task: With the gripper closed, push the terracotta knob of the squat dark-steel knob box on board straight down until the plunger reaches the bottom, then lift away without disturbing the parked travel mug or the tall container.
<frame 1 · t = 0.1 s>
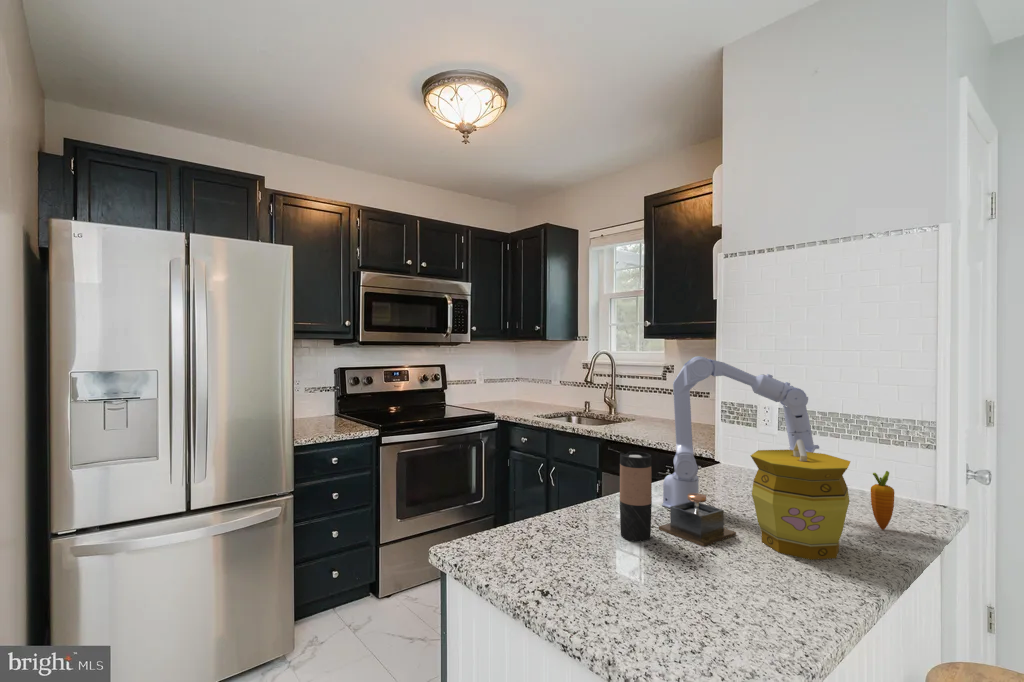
hand: (808, 480, 135), 11 cm above the counter, tool pointing down, fingers open, 7 cm apart
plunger: (696, 505, 125), point 7 cm above the counter, slide at 0.0 cm
knob box on board: (696, 532, 125), on the counter
carrot: (882, 530, 128), on the counter
travel mug: (635, 537, 123), on the counter
container: (799, 547, 117), on the counter
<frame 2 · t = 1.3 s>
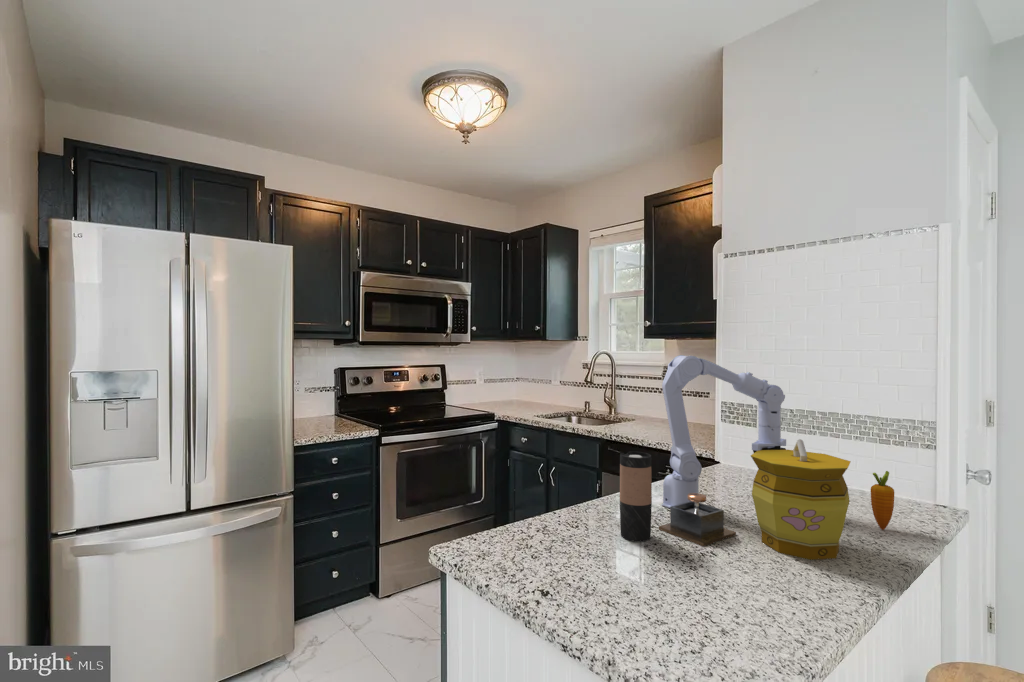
hand: (769, 473, 144), 10 cm above the counter, tool pointing down, fingers open, 3 cm apart
nothing on the counter moved.
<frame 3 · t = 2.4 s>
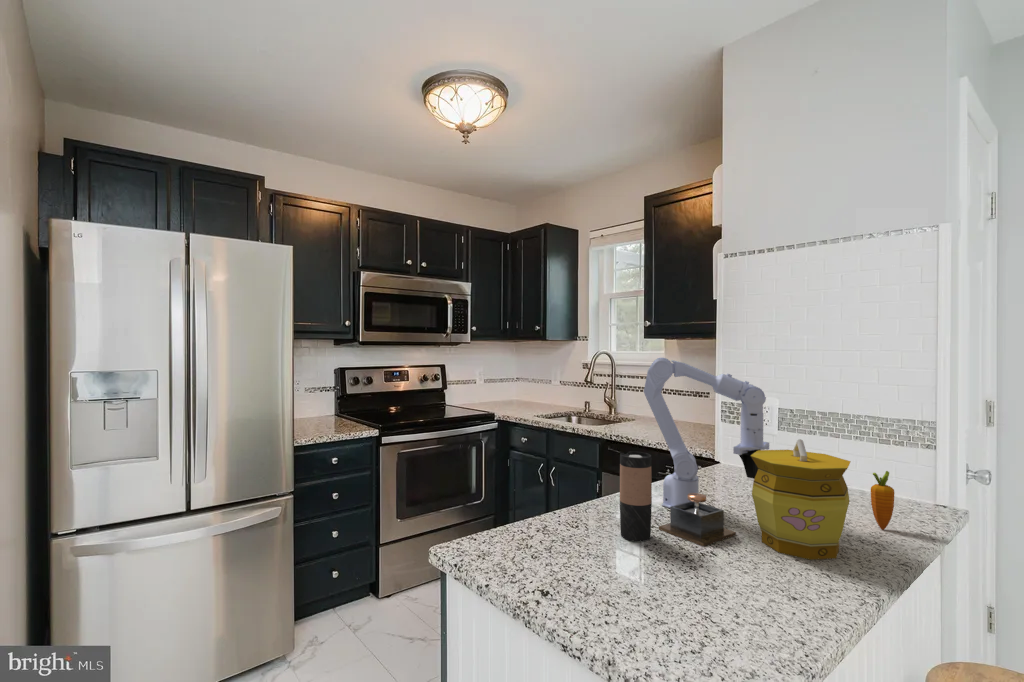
hand: (751, 477, 139), 10 cm above the counter, tool pointing down, fingers closed
nothing on the counter moved.
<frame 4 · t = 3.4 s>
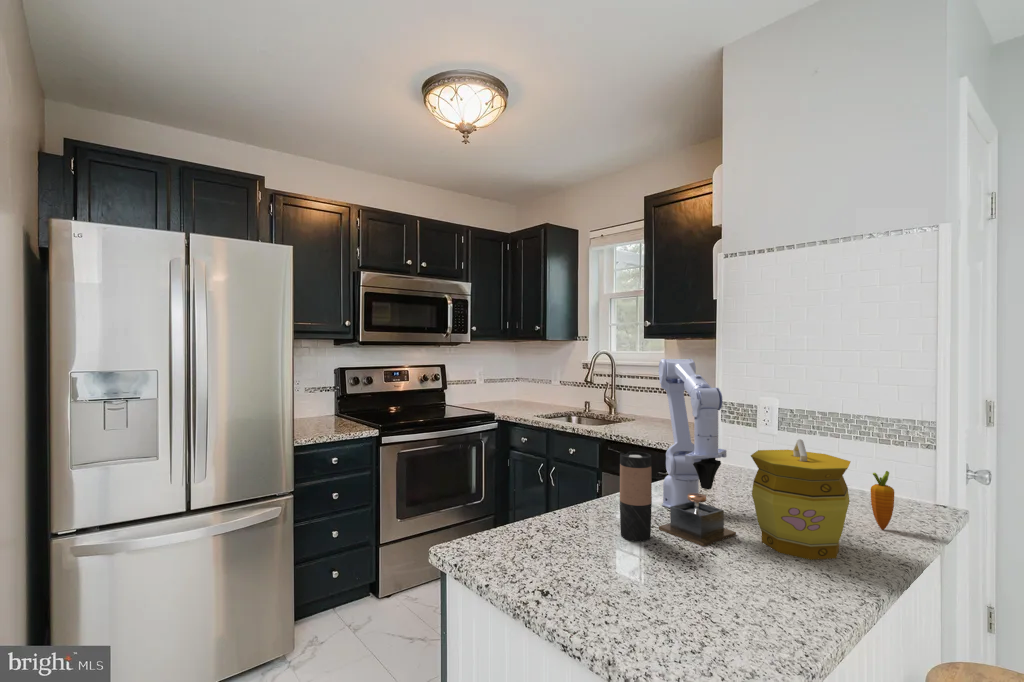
hand: (706, 488, 127), 10 cm above the counter, tool pointing down, fingers closed
nothing on the counter moved.
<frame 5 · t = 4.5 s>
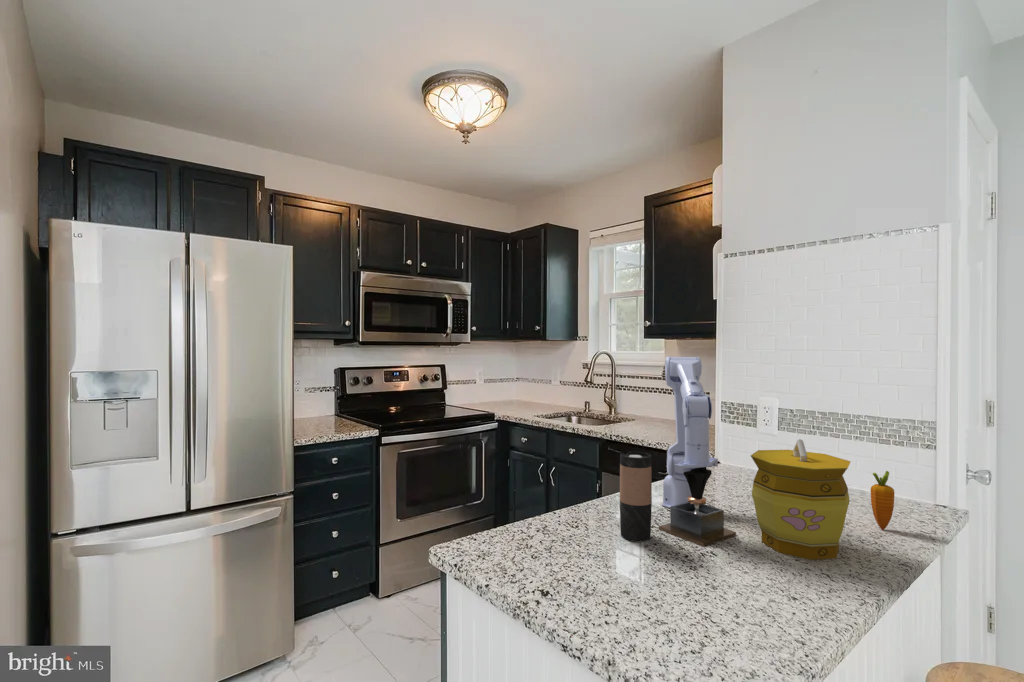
hand: (696, 498, 125), 9 cm above the counter, tool pointing down, fingers closed, pressing on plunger
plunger: (696, 508, 125), point 6 cm above the counter, slide at 0.6 cm, touching gripper
everything else where it was.
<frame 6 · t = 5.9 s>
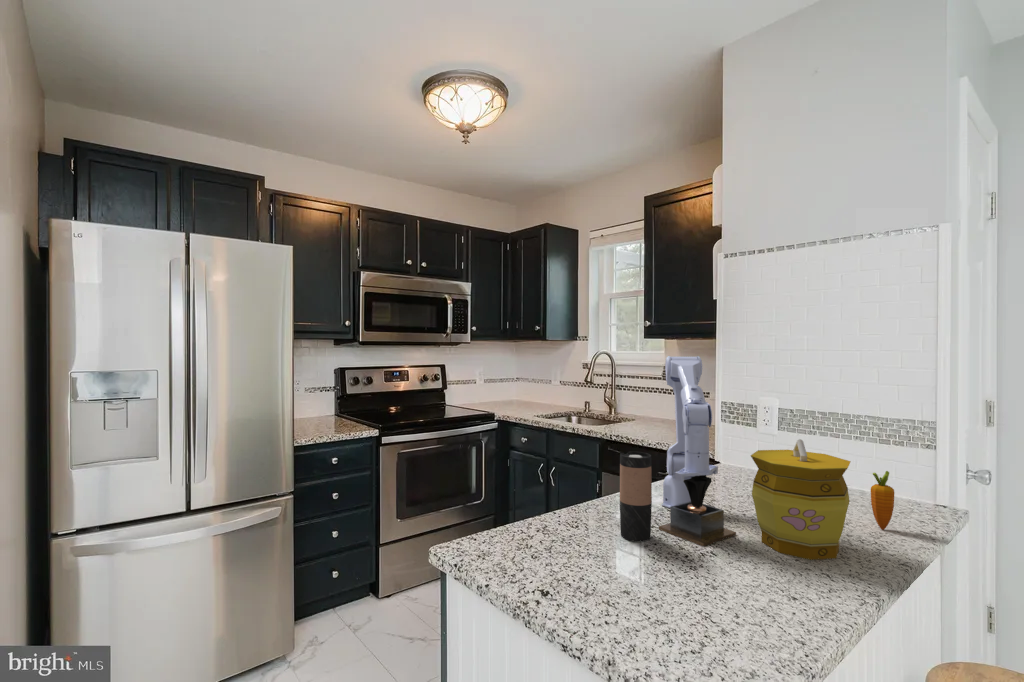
hand: (696, 505, 125), 7 cm above the counter, tool pointing down, fingers closed
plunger: (696, 516, 125), point 4 cm above the counter, slide at 2.8 cm
everything else where it was.
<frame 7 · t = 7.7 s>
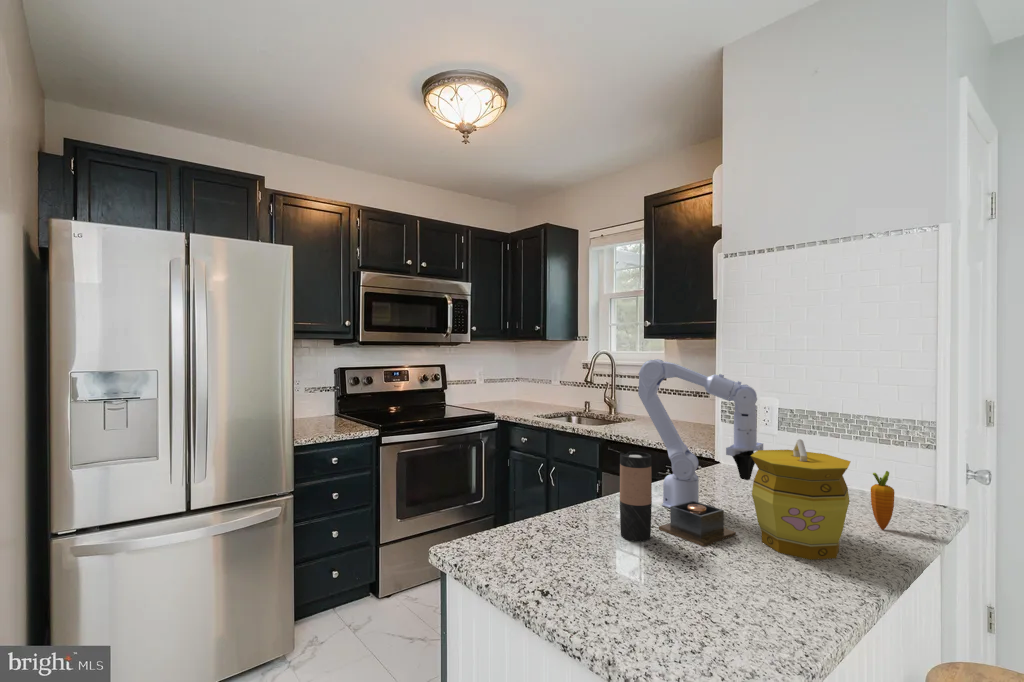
hand: (745, 479, 137), 10 cm above the counter, tool pointing down, fingers closed
nothing on the counter moved.
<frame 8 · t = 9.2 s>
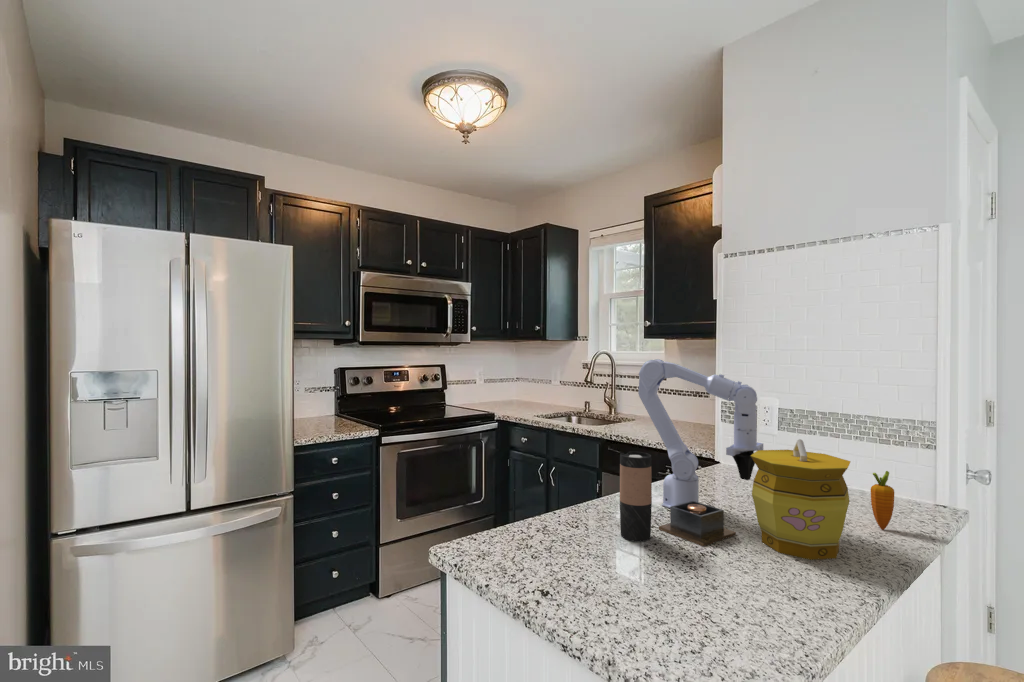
hand: (745, 479, 137), 10 cm above the counter, tool pointing down, fingers closed
nothing on the counter moved.
at the end: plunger slide at 2.8 cm; travel mug moved 0.2 cm from its start; container moved 0.2 cm from its start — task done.
